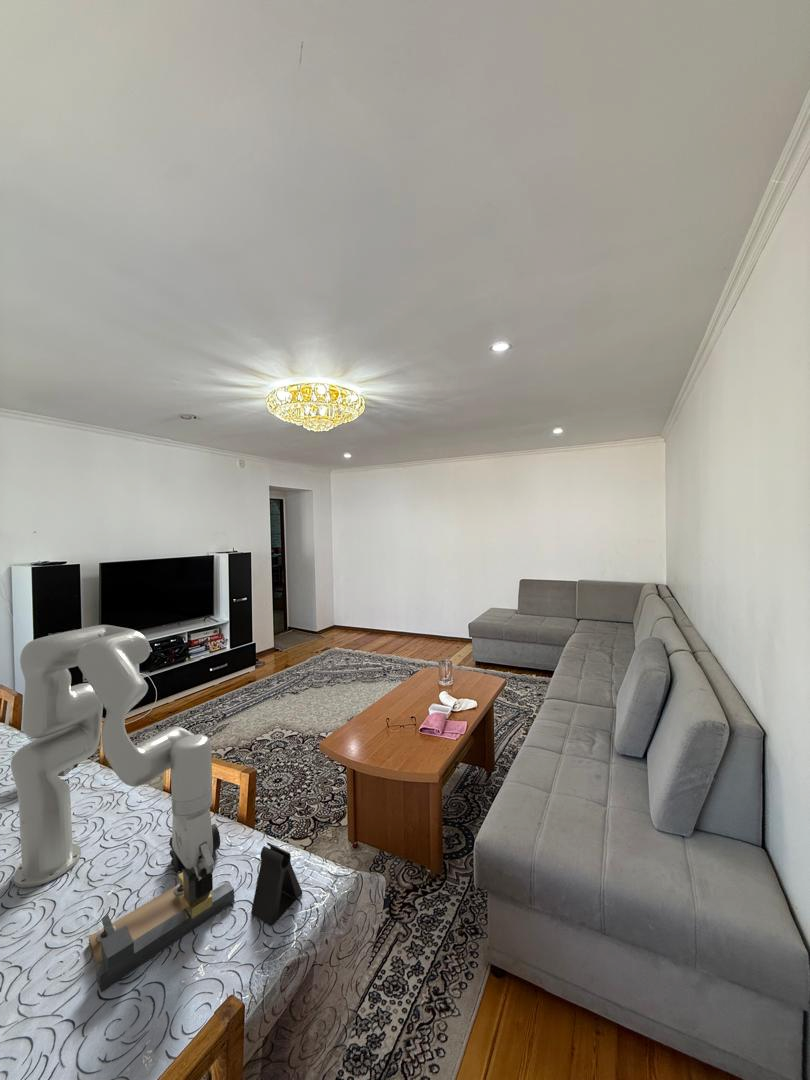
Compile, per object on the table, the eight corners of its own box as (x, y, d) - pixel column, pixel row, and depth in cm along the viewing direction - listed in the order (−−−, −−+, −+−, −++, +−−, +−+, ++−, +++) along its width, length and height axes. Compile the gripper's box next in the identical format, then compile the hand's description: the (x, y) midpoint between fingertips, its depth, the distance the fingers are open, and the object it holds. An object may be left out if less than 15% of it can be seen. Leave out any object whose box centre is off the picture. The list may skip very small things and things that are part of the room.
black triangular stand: (283, 883, 96) (281, 831, 96) (302, 894, 93) (300, 840, 93) (250, 914, 88) (248, 858, 88) (270, 927, 85) (268, 869, 85)
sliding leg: (171, 890, 92) (169, 849, 92) (190, 879, 95) (188, 839, 95) (192, 924, 84) (190, 879, 84) (212, 910, 87) (210, 867, 87)
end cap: (177, 879, 98) (176, 851, 98) (168, 863, 103) (167, 836, 103) (221, 855, 105) (220, 828, 105) (210, 841, 110) (209, 815, 110)
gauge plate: (89, 944, 83) (88, 935, 83) (199, 878, 98) (199, 870, 98) (98, 972, 77) (97, 963, 77) (214, 897, 93) (213, 890, 93)
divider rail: (87, 951, 82) (86, 920, 81) (213, 875, 99) (212, 849, 99) (102, 996, 73) (100, 963, 73) (236, 904, 91) (235, 877, 91)
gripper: (158, 790, 90) (160, 868, 91) (189, 828, 78) (191, 918, 79) (195, 774, 96) (197, 848, 96) (229, 809, 84) (231, 893, 84)
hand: (194, 880), depth 87 cm, fingers open, 9 cm apart
